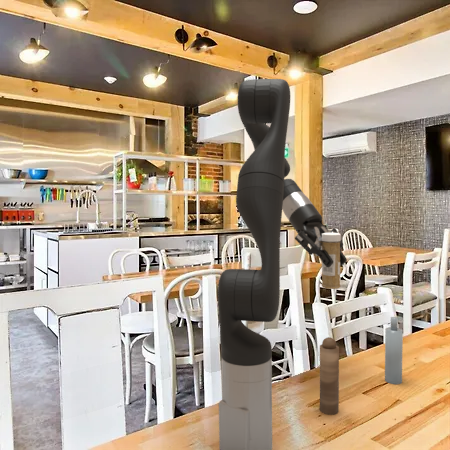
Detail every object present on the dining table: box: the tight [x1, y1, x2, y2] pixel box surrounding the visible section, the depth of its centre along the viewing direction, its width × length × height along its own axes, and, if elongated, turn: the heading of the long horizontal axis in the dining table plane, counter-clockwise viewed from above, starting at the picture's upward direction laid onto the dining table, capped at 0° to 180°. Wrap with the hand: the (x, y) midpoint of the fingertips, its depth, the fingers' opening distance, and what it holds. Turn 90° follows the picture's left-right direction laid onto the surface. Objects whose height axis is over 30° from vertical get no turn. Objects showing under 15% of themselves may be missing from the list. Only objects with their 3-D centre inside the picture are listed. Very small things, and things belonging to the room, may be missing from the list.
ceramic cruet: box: [384, 316, 404, 385], centre depth 106 cm, size 4×4×16 cm
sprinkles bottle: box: [321, 232, 342, 290], centre depth 105 cm, size 5×5×13 cm
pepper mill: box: [319, 337, 340, 416], centre depth 92 cm, size 4×4×16 cm
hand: (337, 263), depth 103 cm, fingers closed on sprinkles bottle, 4 cm apart
